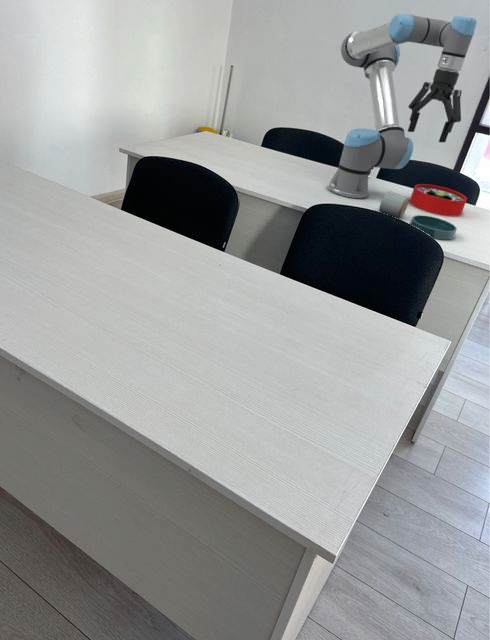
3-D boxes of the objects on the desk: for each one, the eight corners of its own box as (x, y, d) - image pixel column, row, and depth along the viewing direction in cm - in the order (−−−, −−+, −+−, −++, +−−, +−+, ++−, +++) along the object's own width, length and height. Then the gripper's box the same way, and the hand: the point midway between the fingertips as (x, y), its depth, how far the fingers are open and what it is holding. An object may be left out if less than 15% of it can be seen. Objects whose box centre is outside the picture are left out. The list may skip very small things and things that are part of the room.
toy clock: (435, 200, 213) (404, 182, 229) (429, 215, 216) (399, 197, 232) (478, 202, 220) (445, 185, 236) (472, 217, 223) (440, 199, 239)
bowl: (411, 220, 208) (414, 212, 206) (454, 231, 204) (457, 223, 202) (406, 231, 196) (409, 222, 194) (452, 243, 192) (455, 235, 190)
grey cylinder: (398, 220, 205) (406, 199, 201) (376, 213, 208) (383, 192, 204) (407, 214, 213) (414, 194, 209) (386, 208, 216) (392, 187, 212)
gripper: (411, 62, 197) (391, 127, 208) (473, 77, 180) (448, 146, 192) (425, 64, 201) (405, 127, 212) (487, 78, 184) (462, 146, 196)
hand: (425, 136), depth 202 cm, fingers open, 13 cm apart
